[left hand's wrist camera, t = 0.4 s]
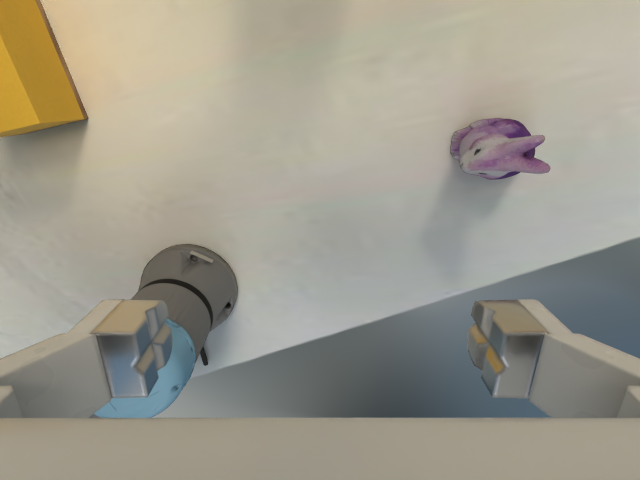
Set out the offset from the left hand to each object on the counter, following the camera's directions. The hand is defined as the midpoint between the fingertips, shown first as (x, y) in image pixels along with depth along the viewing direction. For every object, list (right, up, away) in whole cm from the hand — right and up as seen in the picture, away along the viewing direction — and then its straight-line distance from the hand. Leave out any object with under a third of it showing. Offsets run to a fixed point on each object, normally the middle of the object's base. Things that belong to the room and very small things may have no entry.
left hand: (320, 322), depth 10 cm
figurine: (+23, +16, +45) cm, 53 cm away
